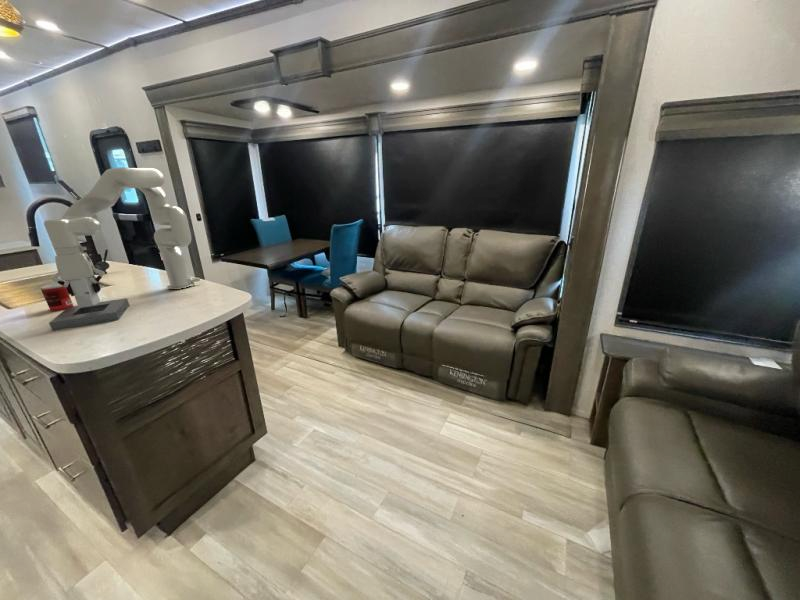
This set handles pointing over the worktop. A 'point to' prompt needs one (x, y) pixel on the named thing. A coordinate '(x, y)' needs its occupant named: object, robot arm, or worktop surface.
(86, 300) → the skincare box
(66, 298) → the canned food
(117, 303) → the jig
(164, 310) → the worktop surface
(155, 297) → the worktop surface
